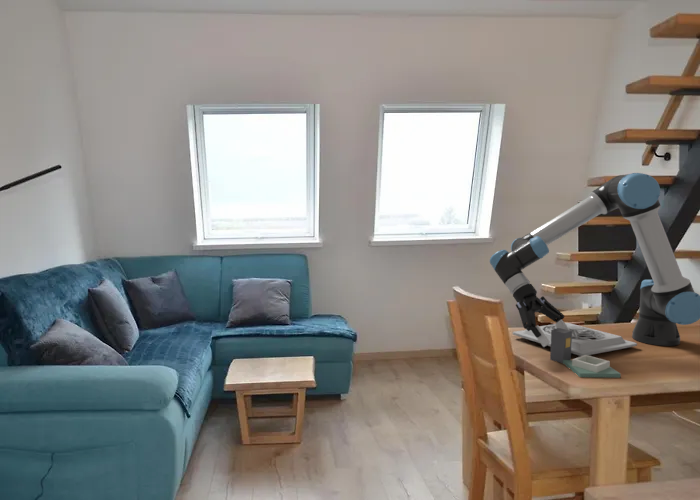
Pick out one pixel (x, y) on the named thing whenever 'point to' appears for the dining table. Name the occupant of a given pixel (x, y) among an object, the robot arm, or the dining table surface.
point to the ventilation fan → (583, 339)
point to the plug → (560, 345)
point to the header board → (592, 374)
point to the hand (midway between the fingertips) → (559, 341)
